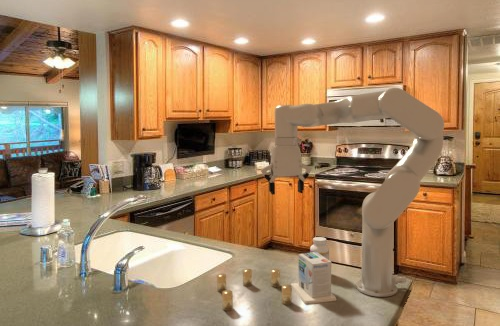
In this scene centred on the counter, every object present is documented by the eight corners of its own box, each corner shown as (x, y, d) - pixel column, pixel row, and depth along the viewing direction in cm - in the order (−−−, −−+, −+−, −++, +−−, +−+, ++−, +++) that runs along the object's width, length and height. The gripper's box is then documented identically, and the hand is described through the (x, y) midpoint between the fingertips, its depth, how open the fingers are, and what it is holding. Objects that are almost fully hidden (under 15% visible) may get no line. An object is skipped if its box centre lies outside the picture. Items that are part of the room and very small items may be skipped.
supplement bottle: (306, 273, 146) (306, 238, 144) (319, 269, 149) (319, 235, 148) (319, 278, 140) (319, 242, 139) (332, 274, 144) (333, 239, 143)
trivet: (319, 282, 136) (319, 280, 136) (336, 300, 123) (336, 298, 123) (291, 285, 135) (291, 283, 134) (304, 303, 121) (304, 301, 121)
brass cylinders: (276, 280, 139) (276, 266, 139) (293, 304, 121) (293, 288, 120) (215, 285, 135) (215, 271, 135) (223, 311, 117) (222, 294, 116)
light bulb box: (297, 285, 133) (297, 253, 132) (316, 282, 135) (316, 251, 134) (312, 298, 123) (312, 264, 121) (332, 295, 125) (332, 261, 123)
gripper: (307, 141, 140) (307, 190, 142) (258, 142, 137) (259, 192, 138) (314, 142, 133) (314, 193, 134) (263, 143, 129) (264, 196, 131)
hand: (286, 193), depth 136 cm, fingers open, 9 cm apart
